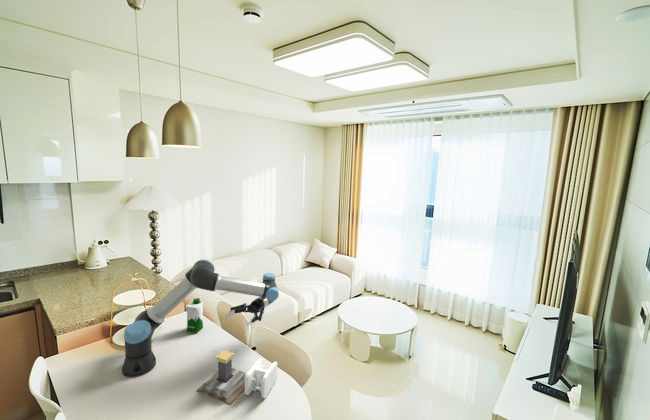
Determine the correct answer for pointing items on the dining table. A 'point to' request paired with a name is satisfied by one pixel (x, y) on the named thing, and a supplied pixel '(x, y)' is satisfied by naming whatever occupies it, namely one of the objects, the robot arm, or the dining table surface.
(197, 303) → the milk carton
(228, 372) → the plug
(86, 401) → the dining table surface
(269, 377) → the cable organizer
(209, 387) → the socket
